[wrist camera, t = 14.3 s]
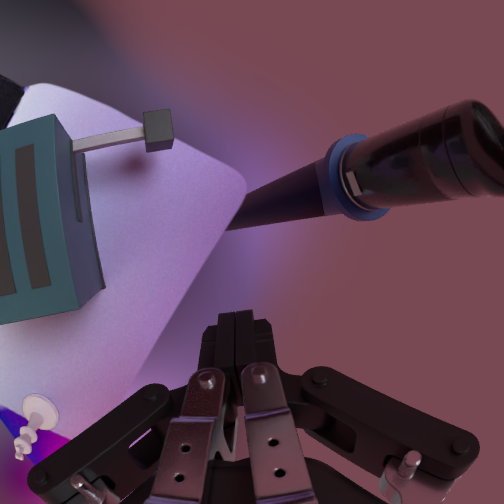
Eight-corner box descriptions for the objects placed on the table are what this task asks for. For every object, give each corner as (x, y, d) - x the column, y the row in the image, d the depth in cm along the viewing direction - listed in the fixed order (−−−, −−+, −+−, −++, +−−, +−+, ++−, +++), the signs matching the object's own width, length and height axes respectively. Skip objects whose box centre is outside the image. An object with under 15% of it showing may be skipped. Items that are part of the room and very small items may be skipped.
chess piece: (55, 396, 28) (33, 442, 18) (62, 430, 28) (45, 479, 18) (20, 390, 26) (-10, 431, 17) (27, 424, 26) (3, 469, 17)
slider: (167, 120, 27) (170, 108, 24) (171, 148, 27) (174, 139, 25) (76, 137, 24) (69, 126, 22) (78, 167, 25) (71, 159, 22)
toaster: (84, 153, 29) (56, 109, 17) (105, 287, 30) (83, 311, 19) (17, 171, 26) (-34, 141, 15) (37, 302, 27) (-12, 330, 16)
